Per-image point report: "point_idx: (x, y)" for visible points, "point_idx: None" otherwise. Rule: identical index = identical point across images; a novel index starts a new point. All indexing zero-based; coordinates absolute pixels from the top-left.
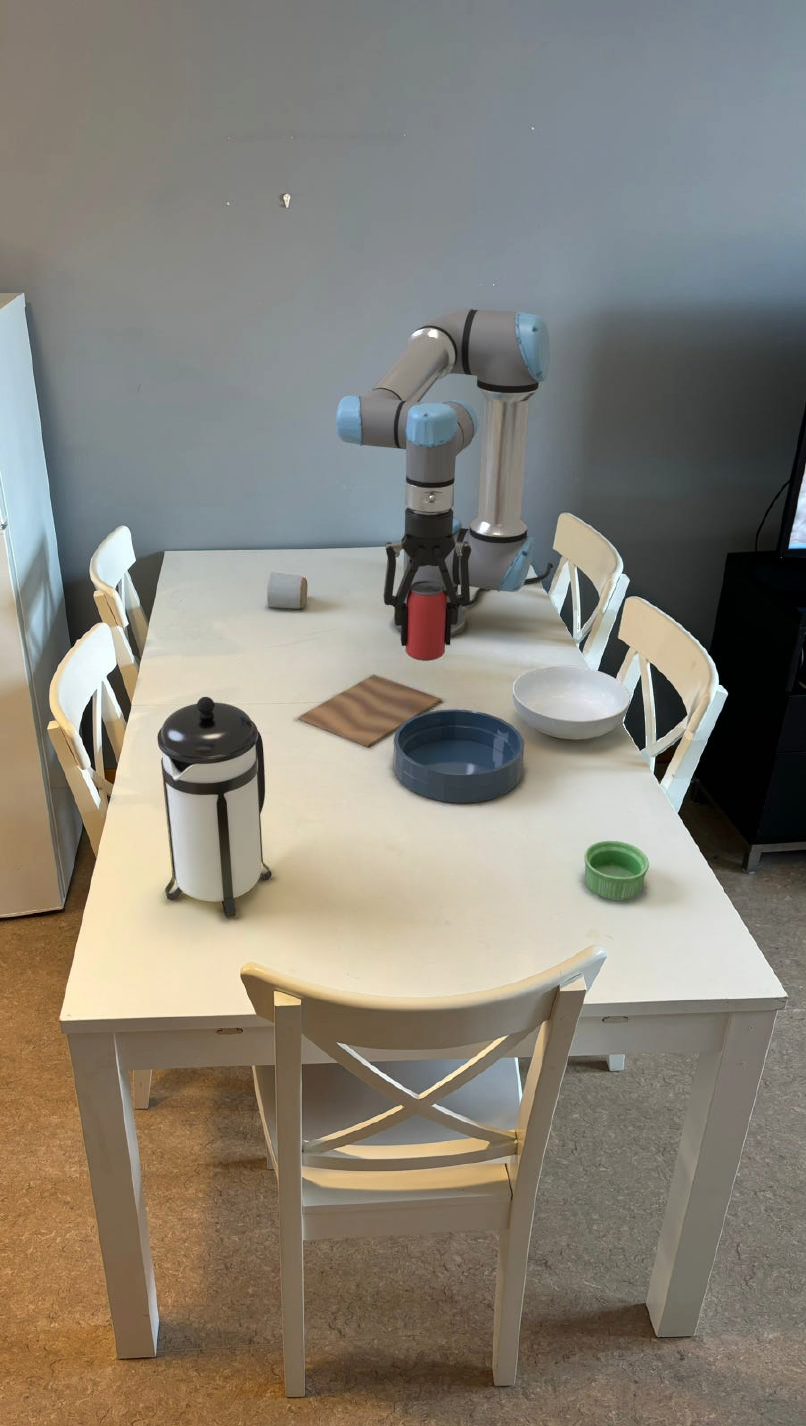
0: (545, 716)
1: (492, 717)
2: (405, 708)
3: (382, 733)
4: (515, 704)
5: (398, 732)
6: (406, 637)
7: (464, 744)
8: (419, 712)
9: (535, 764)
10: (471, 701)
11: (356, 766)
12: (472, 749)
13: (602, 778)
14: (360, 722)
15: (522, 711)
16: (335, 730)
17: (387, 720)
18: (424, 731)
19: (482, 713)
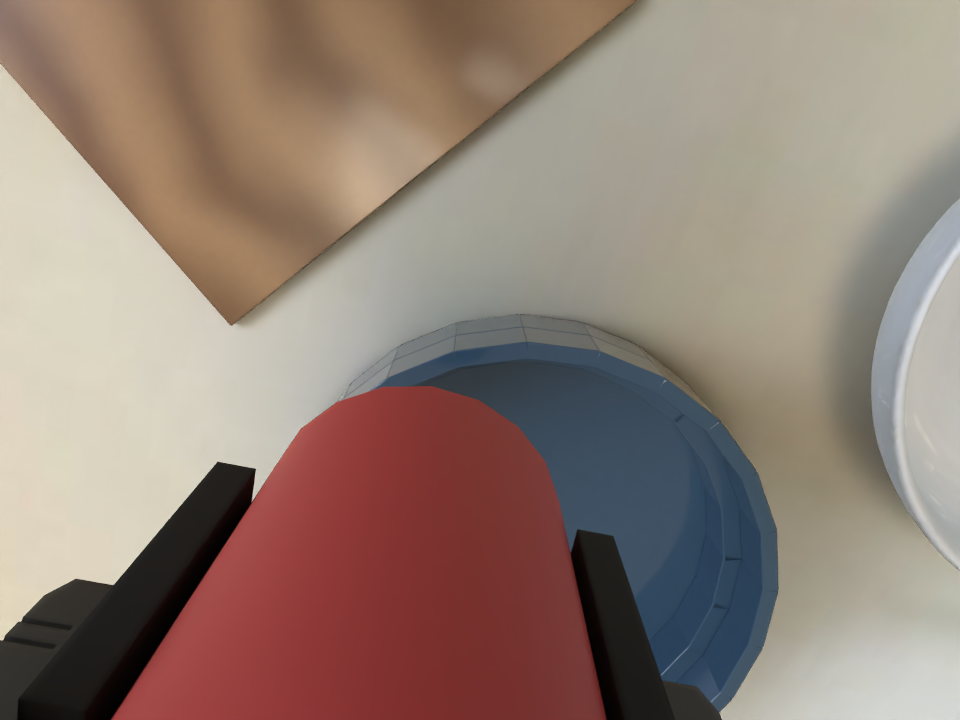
0: (935, 545)
1: (727, 455)
2: (450, 57)
3: (304, 251)
4: (883, 352)
5: None
6: None
7: (594, 397)
8: (501, 108)
9: (781, 559)
10: (767, 39)
11: (174, 436)
12: (609, 435)
13: (942, 675)
14: (229, 137)
15: (879, 423)
16: (116, 180)
17: (346, 148)
18: (444, 375)
19: (700, 416)
